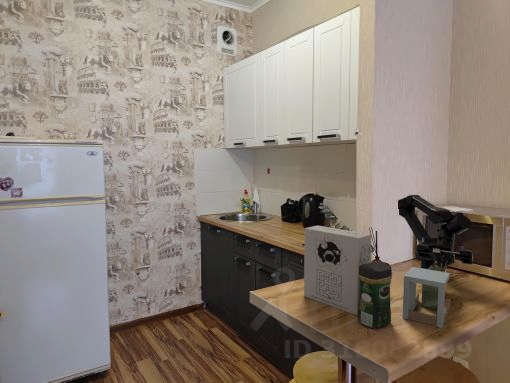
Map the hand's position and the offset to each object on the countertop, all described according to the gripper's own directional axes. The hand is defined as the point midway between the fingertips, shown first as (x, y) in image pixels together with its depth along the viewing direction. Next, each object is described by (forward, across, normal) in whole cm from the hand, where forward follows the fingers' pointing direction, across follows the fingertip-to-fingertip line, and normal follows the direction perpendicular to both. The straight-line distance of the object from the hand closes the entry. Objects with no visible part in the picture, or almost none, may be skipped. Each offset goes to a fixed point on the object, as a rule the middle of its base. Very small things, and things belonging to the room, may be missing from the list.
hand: (440, 273), depth 128 cm
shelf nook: (+20, +1, +10) cm, 23 cm away
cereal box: (+27, +28, +17) cm, 42 cm away
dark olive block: (+12, +1, +1) cm, 12 cm away
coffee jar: (+32, +13, +22) cm, 41 cm away
